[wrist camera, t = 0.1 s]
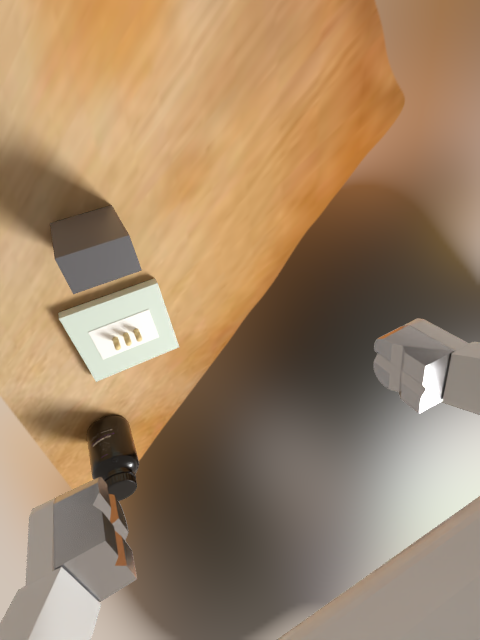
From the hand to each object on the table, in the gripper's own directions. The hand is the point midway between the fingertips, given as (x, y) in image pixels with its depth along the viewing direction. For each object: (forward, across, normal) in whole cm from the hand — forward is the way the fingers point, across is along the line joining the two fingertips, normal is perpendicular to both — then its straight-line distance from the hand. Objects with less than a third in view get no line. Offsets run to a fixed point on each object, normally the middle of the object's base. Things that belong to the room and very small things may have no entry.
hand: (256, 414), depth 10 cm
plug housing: (+39, +3, +4) cm, 40 cm away
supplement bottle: (+43, +13, +37) cm, 58 cm away
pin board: (+41, +4, +19) cm, 45 cm away
